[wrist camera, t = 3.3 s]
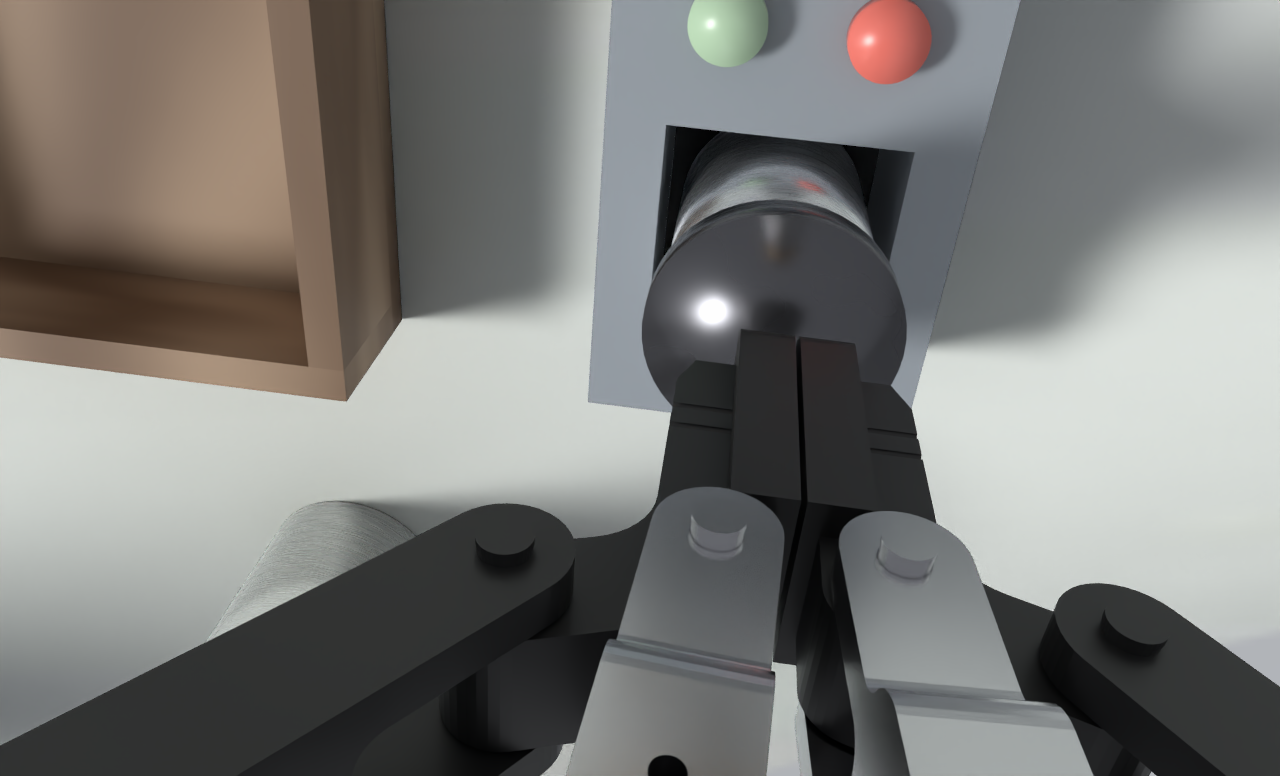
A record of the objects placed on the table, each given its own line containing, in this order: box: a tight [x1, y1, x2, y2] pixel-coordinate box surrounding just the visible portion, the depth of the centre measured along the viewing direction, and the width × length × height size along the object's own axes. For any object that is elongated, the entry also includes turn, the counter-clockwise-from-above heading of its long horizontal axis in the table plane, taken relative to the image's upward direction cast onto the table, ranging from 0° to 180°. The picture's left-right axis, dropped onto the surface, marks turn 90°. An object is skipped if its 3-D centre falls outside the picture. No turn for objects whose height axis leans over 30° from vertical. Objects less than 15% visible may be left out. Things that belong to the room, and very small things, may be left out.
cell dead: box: [205, 501, 416, 643], centre depth 22 cm, size 4×4×11 cm
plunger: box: [642, 131, 907, 406], centre depth 17 cm, size 4×4×5 cm
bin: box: [0, 0, 402, 401], centre depth 18 cm, size 11×11×4 cm
